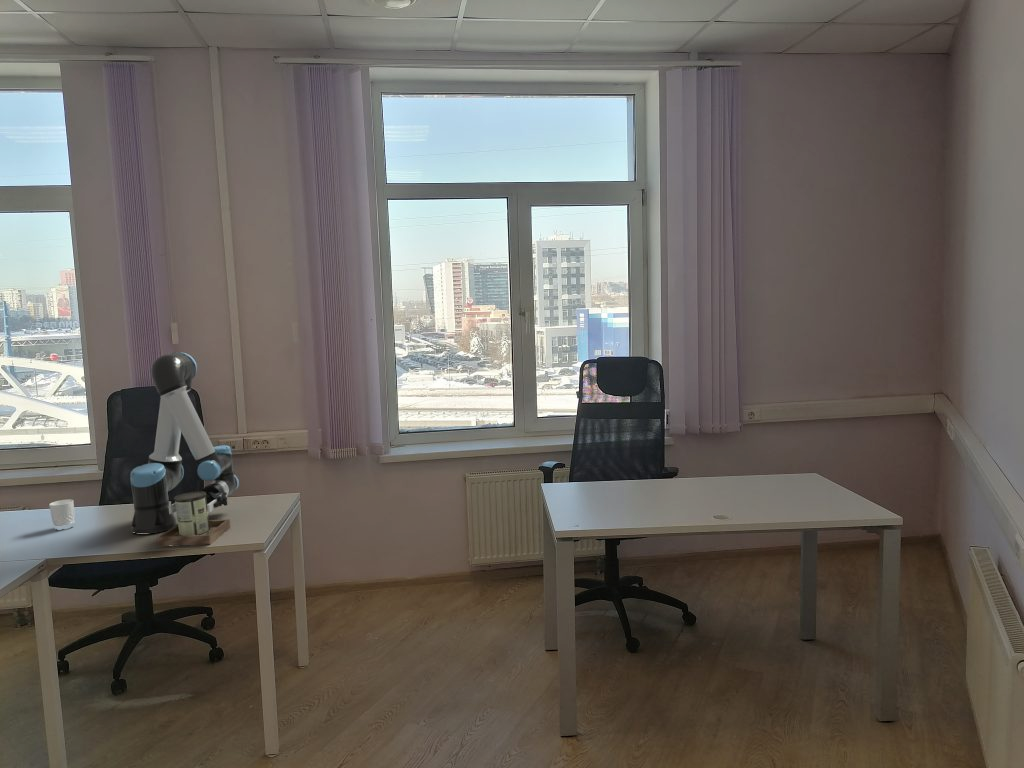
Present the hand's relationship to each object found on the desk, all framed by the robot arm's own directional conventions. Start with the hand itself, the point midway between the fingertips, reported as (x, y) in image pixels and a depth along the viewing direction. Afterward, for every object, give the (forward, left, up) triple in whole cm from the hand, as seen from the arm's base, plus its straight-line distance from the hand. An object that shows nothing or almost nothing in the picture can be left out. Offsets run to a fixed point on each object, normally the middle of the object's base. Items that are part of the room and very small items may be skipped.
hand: (189, 509), depth 263 cm
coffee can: (0, +2, -10) cm, 10 cm away
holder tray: (0, +2, -11) cm, 11 cm away
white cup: (-59, +22, -11) cm, 64 cm away
